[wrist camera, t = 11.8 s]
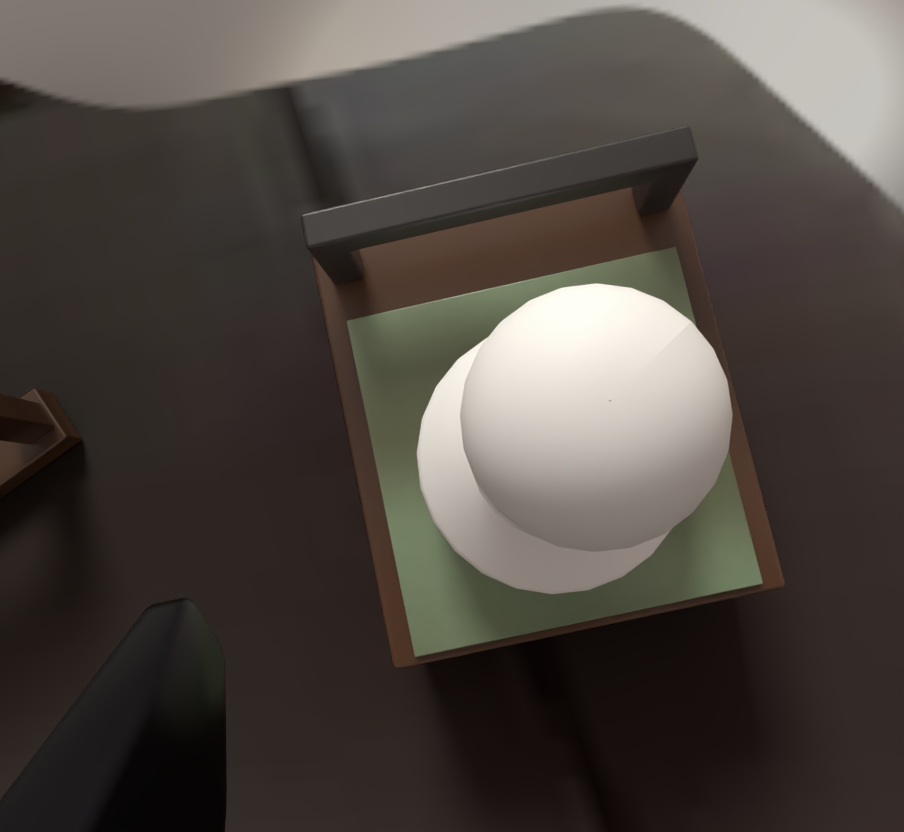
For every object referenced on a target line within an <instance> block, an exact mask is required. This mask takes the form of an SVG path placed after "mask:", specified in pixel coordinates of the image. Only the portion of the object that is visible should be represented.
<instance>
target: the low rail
mask: <svg viewBox="0 0 904 832" xmlns="http://www.w3.org/2000/svg"><path fill="white" fill-rule="evenodd" d="M79 441H81V437H80V436H79V434H78V433H77V431H76V430H75V428H74V426H73V425H72V423H71V422H70V420H69V419H68V417H67V416H66V414H65V413H64V411H63V410H62V408H61V407H60V405H59V404H58V402H57V401H56V399H55V398H54V396H53V395H52V393H50V392H47V391H43V390H39V389H33V390H31V391H30V392H29V393H27V394H26V395H25V396H23V397H22V398H16V397H12V396H7V395H3V394H0V499H1V498H2V497H4V496H5V495H6V494H8V493H9V492H11V491H12V490H13V489H15V488H16V487H17V486H19V485H20V484H22V483H23V482H24V481H26V480H27V479H28V478H30V477H31V476H33V475H34V474H35V473H37V472H38V471H39V470H41V469H42V468H44V467H45V466H46V465H48V464H49V463H51V462H52V461H53V460H55V459H56V458H57V457H59V456H60V455H62V454H63V453H64V452H66V451H67V450H68V449H70V448H71V447H73V446H74V445H75V444H77V443H78V442H79Z"/></svg>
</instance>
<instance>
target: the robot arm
mask: <svg viewBox="0 0 904 832" xmlns="http://www.w3.org/2000/svg"><path fill="white" fill-rule="evenodd" d="M226 790H227V779H226V697H225V660H224V655H223V650H222V648H221V645H220V643H219V641H218V639H217V638H216V636H215V635H214V633H213V631H212V630H211V628H210V626H209V625H208V623H207V622H206V620H205V618H204V617H203V615H202V614H201V612H200V610H199V609H198V607H197V606H196V604H195V603H194V602H193V601H192V600H190V599H188V598H180V599H175V600H171V601H166V602H162V603H157V604H153V605H151V606H149V607H148V608H147V609H146V610H145V611H144V612H143V613H142V614H141V616H140V617H139V618H138V619H137V621H136V622H135V623H134V625H133V626H132V627H131V629H130V630H129V631H128V633H127V634H126V635H125V637H124V638H123V639H122V641H121V642H120V643H119V644H118V646H117V647H116V648H115V650H114V651H113V652H112V654H111V655H110V656H109V658H108V659H107V660H106V662H105V663H104V664H103V666H102V667H101V668H100V669H99V671H98V672H97V673H96V675H95V676H94V677H93V679H92V680H91V681H90V683H89V684H88V685H87V687H86V688H85V689H84V691H83V692H82V693H81V694H80V696H79V697H78V698H77V700H76V701H75V702H74V704H73V705H72V706H71V708H70V709H69V710H68V712H67V713H66V714H65V716H64V717H63V718H62V719H61V721H60V722H59V723H58V725H57V726H56V727H55V729H54V730H53V731H52V733H51V734H50V735H49V737H48V738H47V739H46V741H45V742H44V743H43V744H42V746H41V747H40V748H39V750H38V751H37V752H36V754H35V755H34V756H33V758H32V759H31V760H30V762H29V763H28V764H27V766H26V767H25V768H24V769H23V771H22V772H21V773H20V775H19V776H18V777H17V779H16V780H15V781H14V783H13V784H12V785H11V787H10V788H9V789H8V791H7V792H6V793H5V794H4V796H3V797H2V798H1V800H0V832H225V819H226Z"/></svg>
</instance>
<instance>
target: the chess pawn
mask: <svg viewBox="0 0 904 832" xmlns="http://www.w3.org/2000/svg"><path fill="white" fill-rule="evenodd" d="M732 416H733V414H732V407H731V401H730V395H729V388H728V382H727V378H726V376H725V374H724V372H723V369H722V367H721V365H720V363H719V360H718V358H717V356H716V354H715V351H714V349H713V348H712V346H711V345H710V344H709V343H708V341H707V340H706V339H705V338H704V336H703V335H702V334H701V333H700V331H699V330H698V329H697V328H696V326H695V325H694V324H693V323H692V321H690V320H689V319H688V318H686V317H685V316H683V315H682V314H681V313H679V312H678V311H677V310H675V309H674V308H673V307H671V306H670V305H669V304H667V303H666V302H664V301H663V300H660V299H658V298H655V297H653V296H650V295H648V294H645V293H643V292H640V291H638V290H635V289H633V288H629V287H621V286H613V285H606V284H598V283H595V284H587V285H579V286H571V287H563V288H560V289H557V290H555V291H552V292H549V293H547V294H544V295H542V296H539V297H537V298H534V299H532V300H529V301H528V302H527V303H525V304H524V305H523V306H521V307H520V308H519V309H517V310H516V311H515V312H513V313H512V314H511V315H509V316H508V317H506V318H505V319H504V320H502V321H501V322H500V323H499V324H498V326H497V327H496V328H495V329H494V331H493V332H492V333H491V334H490V336H489V337H488V338H486V339H484V340H483V341H482V342H480V343H479V344H478V345H476V346H475V347H474V348H472V349H471V350H470V351H468V352H467V353H465V354H464V355H463V356H461V357H460V358H459V359H458V360H457V361H456V362H455V363H454V365H453V366H452V367H451V368H450V370H449V371H448V372H447V373H446V375H445V376H444V377H443V378H442V380H441V381H440V382H439V383H438V385H437V386H436V388H435V390H434V392H433V395H432V397H431V399H430V401H429V404H428V406H427V408H426V410H425V413H424V415H423V417H422V422H421V428H420V435H419V441H418V447H417V461H418V471H419V480H420V489H421V491H422V494H423V496H424V499H425V502H426V504H427V507H428V509H429V512H430V515H431V517H432V520H433V522H434V523H435V525H436V526H437V527H438V529H439V530H440V532H441V533H442V534H443V536H444V537H445V539H446V540H447V541H448V543H449V544H450V545H451V547H452V548H453V550H454V551H455V552H457V553H458V554H459V555H460V556H461V557H463V558H464V559H465V560H466V561H468V562H469V563H470V564H471V565H473V566H474V567H475V568H476V569H477V570H479V571H480V572H481V573H482V574H484V575H487V576H489V577H491V578H493V579H496V580H498V581H500V582H502V583H505V584H507V585H509V586H511V587H514V588H516V589H522V590H528V591H535V592H541V593H547V594H559V593H568V592H578V591H587V590H590V589H593V588H596V587H598V586H601V585H603V584H606V583H608V582H611V581H613V580H616V579H618V578H621V577H623V576H624V575H626V574H627V573H628V572H630V571H631V570H632V569H634V568H635V567H636V566H638V565H639V564H640V563H642V562H643V561H644V560H646V559H647V558H648V557H650V556H651V555H652V554H653V553H654V551H655V550H656V549H657V547H658V546H659V545H660V543H661V542H662V541H663V540H664V538H665V537H666V536H667V534H668V533H669V532H670V530H671V529H672V528H673V527H674V526H676V525H677V524H678V523H680V522H681V521H682V520H684V519H685V518H686V517H688V516H689V515H690V514H692V513H693V512H694V510H695V509H696V508H697V506H698V505H699V504H700V503H701V501H702V500H703V499H704V497H705V496H706V495H707V493H708V492H709V491H710V490H711V488H712V487H713V486H714V484H715V483H716V480H717V478H718V475H719V473H720V471H721V468H722V466H723V463H724V461H725V458H726V456H727V453H728V451H729V442H730V434H731V425H732Z"/></svg>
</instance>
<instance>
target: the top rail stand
mask: <svg viewBox="0 0 904 832" xmlns="http://www.w3.org/2000/svg"><path fill="white" fill-rule="evenodd" d="M697 160H698V154H697V150H696V146H695V143H694V139H693V135H692V131H691V128H690V126H683V127H678V128H674V129H670V130H665V131H661V132H657V133H652V134H648V135H644V136H639V137H635V138H631V139H626V140H622V141H617V142H613V143H609V144H604V145H600V146H596V147H591V148H587V149H583V150H578V151H574V152H570V153H565V154H561V155H557V156H552V157H548V158H544V159H539V160H535V161H531V162H526V163H522V164H518V165H513V166H509V167H505V168H500V169H496V170H492V171H487V172H483V173H479V174H474V175H470V176H465V177H461V178H457V179H452V180H448V181H444V182H439V183H435V184H431V185H426V186H422V187H418V188H413V189H409V190H405V191H400V192H396V193H392V194H387V195H383V196H379V197H374V198H370V199H366V200H361V201H357V202H353V203H348V204H344V205H340V206H335V207H331V208H327V209H322V210H318V211H313V212H309V213H305V214H302V215H301V223H302V228H303V233H304V238H305V243H306V247H307V248H308V250H309V251H310V252H311V255H312V260H313V265H314V270H315V275H316V280H317V285H318V290H319V295H320V300H321V306H322V311H323V316H324V321H325V326H326V331H327V336H328V341H329V346H330V351H331V356H332V361H333V366H334V371H335V376H336V381H337V386H338V391H339V396H340V401H341V406H342V411H343V416H344V421H345V426H346V431H347V436H348V441H349V446H350V451H351V456H352V461H353V466H354V471H355V476H356V481H357V486H358V491H359V496H360V501H361V506H362V511H363V516H364V521H365V526H366V531H367V536H368V541H369V546H370V551H371V556H372V561H373V566H374V571H375V577H376V582H377V587H378V592H379V597H380V602H381V607H382V612H383V617H384V622H385V627H386V632H387V637H388V642H389V647H390V652H391V657H392V662H393V666H394V667H395V668H397V669H401V668H406V667H411V666H415V665H420V664H425V663H429V662H434V661H439V660H444V659H448V658H453V657H458V656H463V655H467V654H472V653H477V652H482V651H486V650H491V649H496V648H501V647H505V646H510V645H515V644H520V643H524V642H529V641H534V640H539V639H543V638H548V637H553V636H558V635H562V634H567V633H572V632H576V631H581V630H586V629H591V628H595V627H600V626H605V625H610V624H614V623H619V622H624V621H629V620H633V619H638V618H643V617H648V616H652V615H657V614H662V613H667V612H671V611H676V610H681V609H686V608H690V607H695V606H700V605H704V604H709V603H714V602H719V601H723V600H728V599H733V598H738V597H742V596H747V595H752V594H757V593H761V592H766V591H771V590H776V589H780V588H782V587H784V585H785V581H784V578H783V574H782V570H781V566H780V562H779V559H778V555H777V551H776V547H775V543H774V540H773V536H772V532H771V528H770V524H769V521H768V517H767V513H766V509H765V505H764V501H763V498H762V494H761V490H760V486H759V482H758V479H757V475H756V471H755V467H754V463H753V460H752V456H751V452H750V448H749V444H748V441H747V437H746V433H745V429H744V425H743V422H742V418H741V414H740V410H739V406H738V403H737V399H736V395H735V391H734V387H733V384H732V380H731V376H730V372H729V368H728V364H727V361H726V357H725V353H724V349H723V345H722V342H721V338H720V334H719V330H718V326H717V323H716V319H715V315H714V311H713V307H712V304H711V300H710V296H709V292H708V288H707V285H706V281H705V277H704V273H703V269H702V266H701V262H700V258H699V254H698V250H697V247H696V243H695V239H694V235H693V231H692V227H691V224H690V220H689V216H688V212H687V208H686V205H685V201H684V197H683V193H682V189H681V188H682V186H683V184H684V183H685V181H686V179H687V177H688V176H689V174H690V173H691V171H692V169H693V167H694V166H695V164H696V162H697ZM595 283H598V284H606V285H613V286H621V287H629V288H633V289H635V290H638V291H640V292H643V293H645V294H648V295H650V296H653V297H655V298H658V299H660V300H663V301H664V302H666V303H667V304H669V305H670V306H671V307H673V308H674V309H675V310H677V311H678V312H679V313H681V314H682V315H683V316H685V317H686V318H688V319H689V320H690V321H692V323H693V324H694V325H695V326H696V328H697V329H698V330H699V331H700V333H701V334H702V335H703V336H704V338H705V339H706V340H707V341H708V343H709V344H710V345H711V346H712V348H713V349H714V351H715V354H716V356H717V358H718V360H719V363H720V365H721V367H722V369H723V372H724V374H725V376H726V378H727V382H728V388H729V395H730V401H731V407H732V414H733V416H732V425H731V434H730V442H729V451H728V453H727V456H726V458H725V461H724V463H723V466H722V468H721V471H720V473H719V475H718V478H717V480H716V483H715V484H714V486H713V487H712V488H711V490H710V491H709V492H708V493H707V495H706V496H705V497H704V499H703V500H702V501H701V503H700V504H699V505H698V506H697V508H696V509H695V510H694V512H693V513H692V514H690V515H689V516H688V517H686V518H685V519H684V520H682V521H681V522H680V523H678V524H677V525H676V526H674V527H673V528H672V529H671V530H670V532H669V533H668V534H667V536H666V537H665V538H664V540H663V541H662V542H661V543H660V545H659V546H658V547H657V549H656V550H655V551H654V553H653V554H652V555H651V556H650V557H648V558H647V559H646V560H644V561H643V562H642V563H640V564H639V565H638V566H636V567H635V568H634V569H632V570H631V571H630V572H628V573H627V574H626V575H624V576H623V577H621V578H618V579H616V580H613V581H611V582H608V583H606V584H603V585H601V586H598V587H596V588H593V589H590V590H587V591H578V592H568V593H559V594H547V593H541V592H535V591H528V590H522V589H516V588H514V587H511V586H509V585H507V584H505V583H502V582H500V581H498V580H496V579H493V578H491V577H489V576H487V575H484V574H482V573H481V572H480V571H479V570H477V569H476V568H475V567H474V566H473V565H471V564H470V563H469V562H468V561H466V560H465V559H464V558H463V557H461V556H460V555H459V554H458V553H457V552H455V551H454V550H453V548H452V547H451V545H450V544H449V543H448V541H447V540H446V539H445V537H444V536H443V534H442V533H441V532H440V530H439V529H438V527H437V526H436V525H435V523H434V522H433V520H432V517H431V515H430V512H429V509H428V507H427V504H426V502H425V499H424V496H423V494H422V491H421V489H420V480H419V471H418V461H417V447H418V441H419V435H420V428H421V422H422V417H423V415H424V413H425V410H426V408H427V406H428V404H429V401H430V399H431V397H432V395H433V392H434V390H435V388H436V386H437V385H438V383H439V382H440V381H441V380H442V378H443V377H444V376H445V375H446V373H447V372H448V371H449V370H450V368H451V367H452V366H453V365H454V363H455V362H456V361H457V360H458V359H459V358H460V357H461V356H463V355H464V354H465V353H467V352H468V351H470V350H471V349H472V348H474V347H475V346H476V345H478V344H479V343H480V342H482V341H483V340H484V339H486V338H488V337H489V336H490V334H491V333H492V332H493V331H494V329H495V328H496V327H497V326H498V324H499V323H500V322H501V321H502V320H504V319H505V318H506V317H508V316H509V315H511V314H512V313H513V312H515V311H516V310H517V309H519V308H520V307H521V306H523V305H524V304H525V303H527V302H528V301H529V300H532V299H534V298H537V297H539V296H542V295H544V294H547V293H549V292H552V291H555V290H557V289H560V288H563V287H571V286H579V285H587V284H595Z"/></svg>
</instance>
